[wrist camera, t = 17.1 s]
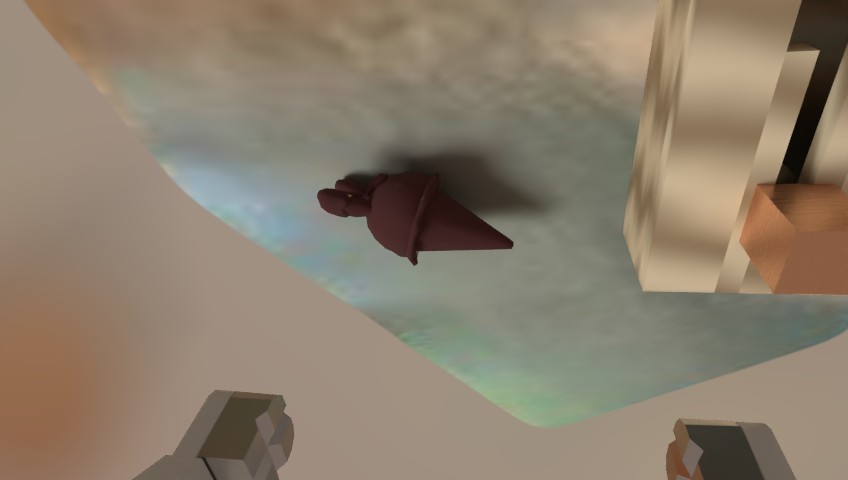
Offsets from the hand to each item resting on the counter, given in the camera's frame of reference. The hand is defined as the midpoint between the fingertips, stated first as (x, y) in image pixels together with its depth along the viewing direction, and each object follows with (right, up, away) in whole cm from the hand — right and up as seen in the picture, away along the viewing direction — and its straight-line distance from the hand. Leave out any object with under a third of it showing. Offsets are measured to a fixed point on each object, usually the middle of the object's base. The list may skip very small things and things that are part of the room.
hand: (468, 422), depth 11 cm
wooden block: (+21, +8, +23) cm, 32 cm away
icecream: (-1, +8, +31) cm, 32 cm away
